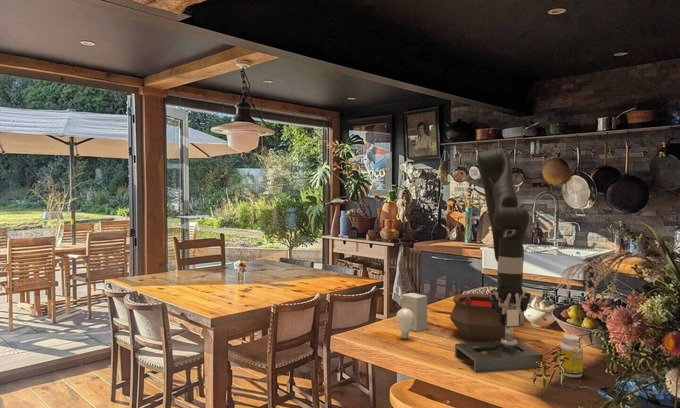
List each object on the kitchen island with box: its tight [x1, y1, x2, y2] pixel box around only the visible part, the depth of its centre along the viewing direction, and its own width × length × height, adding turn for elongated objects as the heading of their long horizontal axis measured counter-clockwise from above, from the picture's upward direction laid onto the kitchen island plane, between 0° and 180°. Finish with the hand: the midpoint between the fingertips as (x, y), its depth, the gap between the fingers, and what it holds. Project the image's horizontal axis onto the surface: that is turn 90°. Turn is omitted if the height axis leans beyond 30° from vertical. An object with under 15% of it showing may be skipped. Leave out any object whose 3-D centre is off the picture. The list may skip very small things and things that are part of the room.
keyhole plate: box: [454, 340, 544, 373], centre depth 146 cm, size 22×14×4 cm, turn 101°
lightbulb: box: [395, 308, 414, 340], centre depth 168 cm, size 6×6×11 cm
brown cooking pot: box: [449, 288, 511, 342], centre depth 172 cm, size 24×24×16 cm
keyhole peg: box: [500, 307, 520, 347], centre depth 147 cm, size 5×5×12 cm
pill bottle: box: [558, 333, 584, 378], centre depth 137 cm, size 6×6×11 cm
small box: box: [401, 292, 428, 332], centre depth 182 cm, size 8×6×13 cm
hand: (509, 324), depth 147 cm, fingers closed on keyhole peg, 4 cm apart
